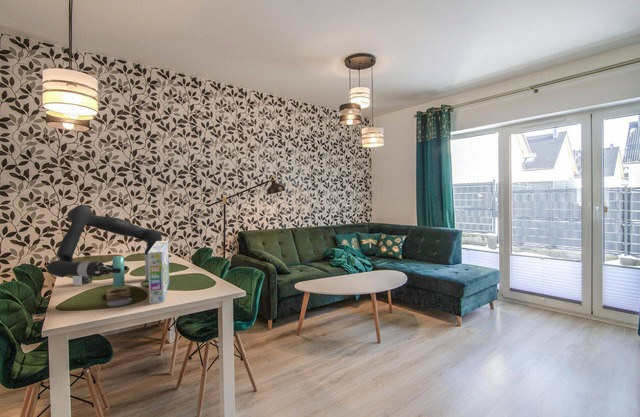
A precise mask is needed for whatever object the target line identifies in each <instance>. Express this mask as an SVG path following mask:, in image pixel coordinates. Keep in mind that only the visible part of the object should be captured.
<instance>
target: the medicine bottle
mask: <svg viewBox="0 0 640 417" xmlns="http://www.w3.org/2000/svg"><path fill="white" fill-rule="evenodd" d="M92 283H93V277H86V276H72V285H73V286H77V287H80V286H81V287H83V286H87V285H89V284H92Z"/></svg>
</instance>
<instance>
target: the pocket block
mask: <svg viewBox="0 0 640 417" xmlns="http://www.w3.org/2000/svg"><path fill="white" fill-rule="evenodd" d="M105 295H106V301H111V300H114V299H118V298H130V297H131V290H130V287H129V286H127V287H126V286H125V287H118V288H115V289H114V288H113V289H108V290H107V289H106V290H105Z"/></svg>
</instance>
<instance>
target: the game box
mask: <svg viewBox="0 0 640 417" xmlns="http://www.w3.org/2000/svg"><path fill="white" fill-rule="evenodd" d="M169 260H170V259H169V240H162V241H156V242H155V244H154V245H153V246H152V248H151V249H150V250H149V252H148V277H149V281H148V304H149V305H152V304H153V305H154V304H162V303H163V304H164V302H165V299H166V294H167V291H168V288H169V284H170V261H169Z"/></svg>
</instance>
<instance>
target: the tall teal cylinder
mask: <svg viewBox="0 0 640 417" xmlns="http://www.w3.org/2000/svg"><path fill="white" fill-rule="evenodd" d="M112 264H113V268H120V269H121V272H120V273H112V287H113V288H122V287H124V286H125V284H126V282H125V270H124V266H125V256H124V255H117V256H116V255H115V256H113V257H112Z"/></svg>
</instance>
